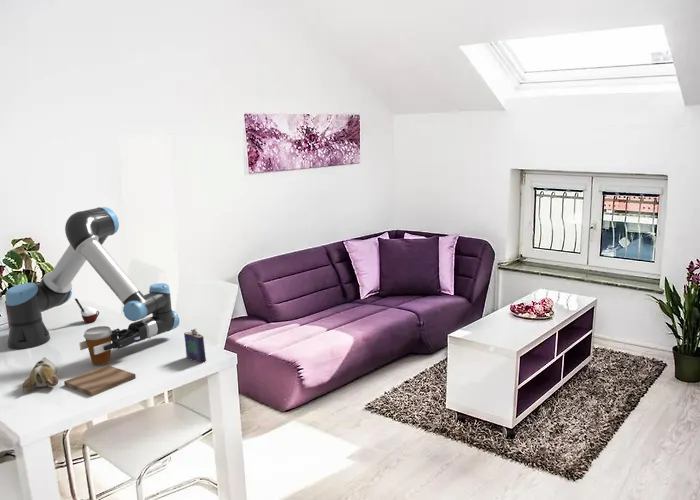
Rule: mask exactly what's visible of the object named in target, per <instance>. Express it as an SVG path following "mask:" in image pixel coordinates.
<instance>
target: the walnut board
mask: <svg viewBox="0 0 700 500" xmlns="http://www.w3.org/2000/svg"><path fill="white" fill-rule="evenodd" d="M136 376H137V375H136V373H133V372H130V371H128V370H124V369H121V368H118V367H115V366H111V365H109V364H106V365H103V366H101V367H98V368H96V369H93V370H91V371H88V372H86V373H82V374H80V375H78V376H75V377H72V378H70V379H66V380H64V381H63V383H64V386H65V387H67V388H70V389H72V390H76V391H78V392H80V393H82V394H85V395H87V396H90V397H94V396H95V395H99V394H101V393H103V392H106V391H109V390H110V389H114V388H115V387H119V386H120V385H122V384H125V383H127V382H128V383H129V382H130V381H133V380H135V379H136V378H137V377H136Z"/></svg>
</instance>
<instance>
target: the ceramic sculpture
mask: <svg viewBox="0 0 700 500" xmlns="http://www.w3.org/2000/svg"><path fill="white" fill-rule="evenodd" d="M57 371H58V368H57V366H56V365H55V364H54V362H52V360H50V359H47V357H46V356H45V357H43V358H41V359H40V360H38V361H37V362H36V363H35V365H34V366H33V368H32V369H31V371H30V374H29V377H27V378H26V379H25V380H24V382H23V383H22V391H23V392H26V391H27V392H28V391H31V390H32V389H33V388H34V387H35V388H45V387H48V386H49V387H55V386H57V385H58V383H59V380H60V379H59V375H58V374H57Z"/></svg>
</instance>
